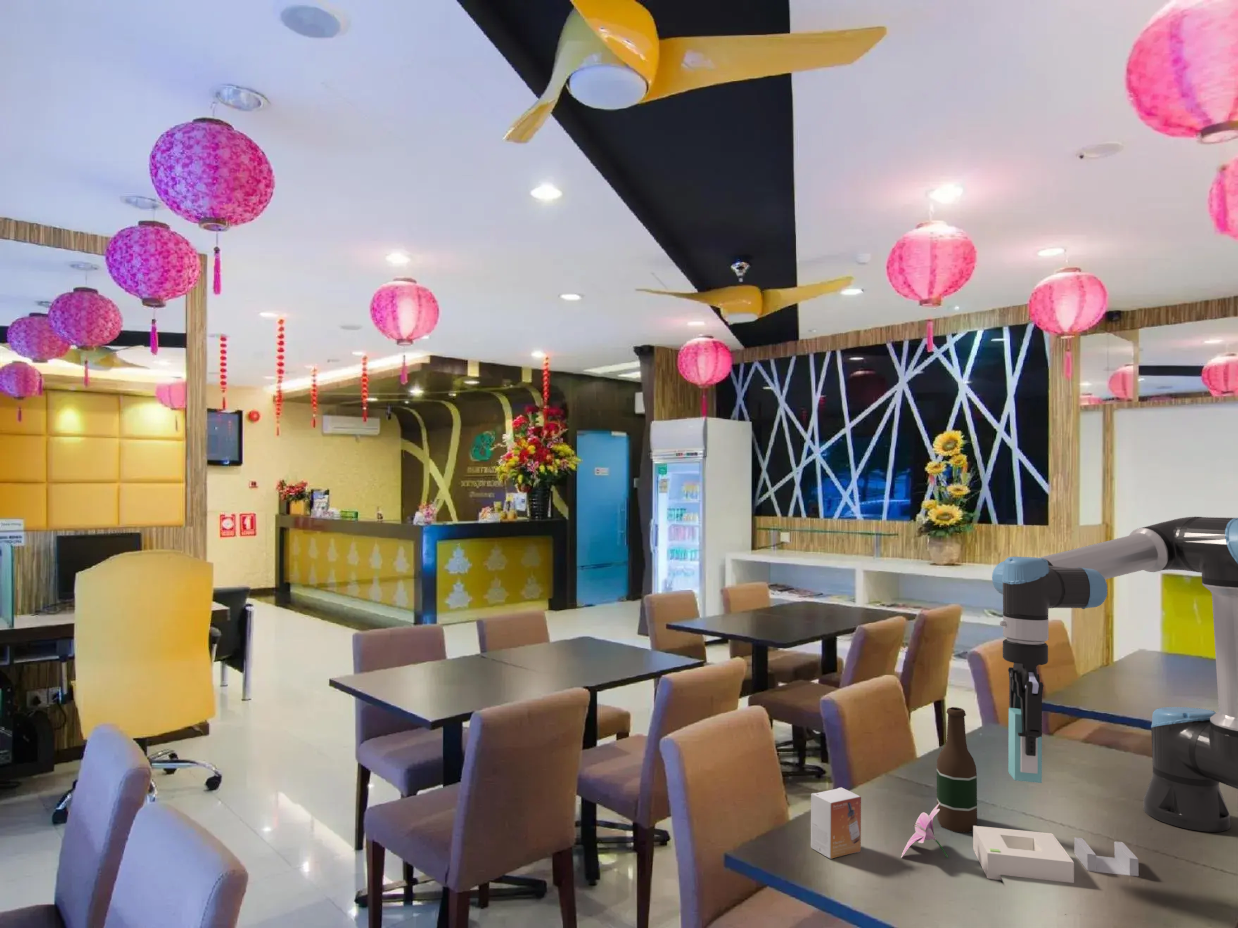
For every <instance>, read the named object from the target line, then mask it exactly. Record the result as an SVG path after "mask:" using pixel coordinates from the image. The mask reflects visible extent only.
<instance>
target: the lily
mask: <svg viewBox="0 0 1238 928" xmlns="http://www.w3.org/2000/svg"><path fill="white" fill-rule="evenodd" d="M939 804H940V803H939ZM939 804H938V805H937V804H936V805H935V807H934V808H933V809H932V810H931V812H930V814H928V813H926V812H921V813H920V814H919V816H918V818H917V819H916V822H915V823H914V825H913V826H912V827H914V831H915V832H914V833H913V834H912V836H910V838H909V839H908V841H907V843H906V845H905V846H904V849H903V851H902V853H901V856H900V858H903V856H904V855H905V853H907V851H908V850H909V848H910V847H911V846H912V845H913V844H914V843H915V842H917V843H918V844H924V842H925V841H929V840H934V841H935V843H937V845H938V846H939V848H941V851H942V852H943V853H944V855H945V858H947V859H948V858H949V856H948V854H947V853H946V851H945V849H944V848H943V846H942V844H940V842H939V841H938V840H937V838H936V837H935V834H934V833H935V831H934V826H933V825H934V823H933V822H934V817H935V816H937V813H938V812H939V810H940V809H937V807H938V806H939Z"/></svg>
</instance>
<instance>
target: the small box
mask: <svg viewBox="0 0 1238 928" xmlns="http://www.w3.org/2000/svg"><path fill="white" fill-rule="evenodd" d="M861 831H862V797H861V796H860V795H858V794H856V793H854V792H852V791H850V790H848V789H845V788H843V787H842V786H841V787H838V788H833V789H829V790H824V791H820V792H812V793H811V794H810V848H811V849H812V850H813V851H816V852H818V853H820V855H822V856H825V857H826V858H828V859H834V858H838V857H842V856H846V855H851V854H857V853H860V852H861V849H862V843H861V842H862V841H861V840H862V838H861V837H862V832H861Z"/></svg>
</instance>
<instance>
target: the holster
mask: <svg viewBox="0 0 1238 928" xmlns="http://www.w3.org/2000/svg"><path fill="white" fill-rule="evenodd" d="M1073 838H1074V840H1073V841H1074V844H1073V845H1074V847H1073V849H1074V850H1073V851H1074V853H1073V854H1074V855H1075V857H1076V858H1077V859H1078V860H1079V862H1080V863H1081V865H1082V866H1083V867H1084V868H1085V870H1086V871H1087V872H1094V873H1104V874H1114V875H1122V876H1131V877H1139V876H1140V875H1139V871H1140V870H1139V858H1138V857H1137V856H1136V855H1135V854H1134V853H1133V851H1132V850H1130V848H1129V847H1128V846H1127V845H1126V844H1125V843H1124V842H1122V841H1114V842H1113V846H1114V853H1113V854H1114V856H1112V857H1111V856H1102V855H1097V854H1096V853H1095V852H1094V850H1093V849H1092V848H1091V847H1090V845H1089V844H1088V843H1087V842H1086V840H1084V838H1082V837H1075V836H1074V837H1073Z"/></svg>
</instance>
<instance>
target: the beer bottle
mask: <svg viewBox="0 0 1238 928" xmlns="http://www.w3.org/2000/svg"><path fill="white" fill-rule="evenodd" d="M966 713H967V712H966V711H965V709H964V708H961V707H956V706H952V707H948V708H946V714H947V727H946V728H947V729H946V741H945V746H944V747H943V748H941V751H939V755H938V756H937V760H936V806H937V805H938V804H939V803H940V804H939V806H938V807H937V809H940V810H939V812H938V813H937V814H936V817H937V821H938V823H939V825H940V827H941V828H943V829H946V830H949V831H950V832H954V833H963V834H964V833H966V834H969V833H971V832H973V826H978V774H977V773H978V772H977V766H976V763H975V760H974V757H973V756H972V754H971V753H970V751H969V749H968V745H967V737H966V736H967V735H966V723H965V721H966V720H965V717H966V716H967V714H966Z"/></svg>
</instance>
